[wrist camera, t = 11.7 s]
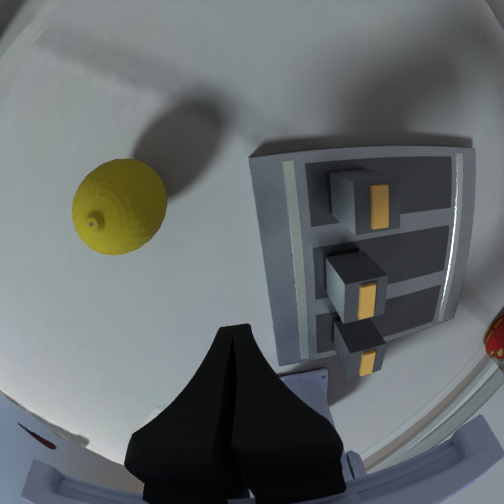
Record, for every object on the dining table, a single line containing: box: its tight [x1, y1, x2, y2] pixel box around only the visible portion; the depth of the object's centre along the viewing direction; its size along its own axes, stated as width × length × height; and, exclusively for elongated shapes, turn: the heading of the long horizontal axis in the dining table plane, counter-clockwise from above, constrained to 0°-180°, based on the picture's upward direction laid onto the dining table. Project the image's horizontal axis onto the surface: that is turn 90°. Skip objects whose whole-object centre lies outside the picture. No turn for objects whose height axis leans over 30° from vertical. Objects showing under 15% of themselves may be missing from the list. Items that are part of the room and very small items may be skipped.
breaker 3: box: [334, 318, 386, 379], centre depth 20 cm, size 3×3×4 cm
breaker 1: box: [329, 169, 400, 235], centre depth 16 cm, size 3×3×4 cm
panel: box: [248, 145, 476, 366], centre depth 21 cm, size 18×20×2 cm
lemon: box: [72, 159, 167, 255], centre depth 15 cm, size 6×6×8 cm
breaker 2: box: [326, 251, 388, 324], centre depth 18 cm, size 3×3×4 cm
